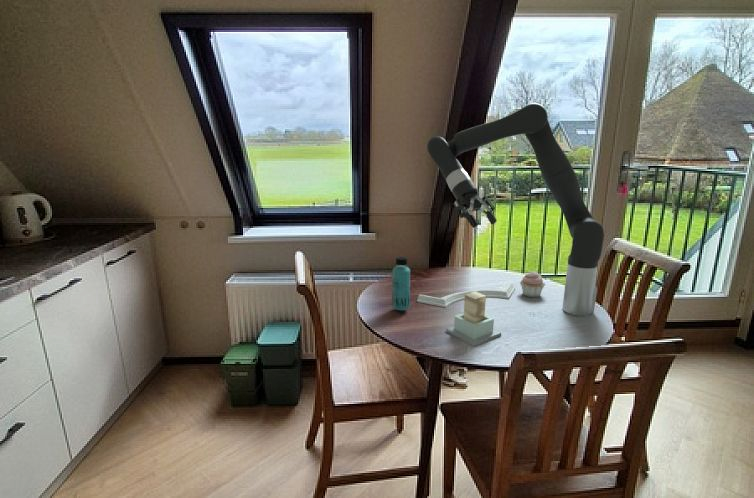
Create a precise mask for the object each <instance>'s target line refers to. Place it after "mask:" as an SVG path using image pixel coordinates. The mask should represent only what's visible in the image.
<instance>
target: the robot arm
mask: <svg viewBox="0 0 754 498" xmlns="http://www.w3.org/2000/svg"><path fill="white" fill-rule="evenodd" d="M519 135H525V137H526V138H527V140H528V142H529V144H530V145H531V147H532V149H533V152H534V154H535V158H536V162H537V165H538V169H539V170H540V171H539V172H540V173H541V175H542V178H543V180H544V183H545V184H546V187H547V189H548V190H549V192H550V194H551V196H552V197H553V199H554V200H555V201H556V203H557V205H558V207H560V210H561V212H562V214H563V216H564V220H565V222H566V226H567V229H568V232H569V235H570V237H571V239H572V242H571V250H570V253H569V255H568V257H567V264H566V274H565V275H566V276H565V283H564V291H563V300H562V306H561V307H562V311H564V312H565V313H567V314H569V315H573V316H578V317H579V316H580V317H585V316H590V315H592V314H594V312H595V308H596V307H595V306H596V300H597V294H598V293H597V292H598V287H597V286H596V280H597V271H598V265H599V261H600V259H601V256H602V252H603V251H602V249H603V245H604V240H605V239H604V238H605V231H604V227H603V226H602V224H601V223H599V222H598V221H597V220H596V219H595V218H594V217H593V216H592V214H591V212H590V211H589V209H588V207H587V206H586V203H585V201H584V199H583V195H582V191H581V187H580V186H581V185H580V183H579V179H578V177H577V174H576V172H575V170H574V167H573V165H572V164H571V162H570V160H569V158H568V157H567V156H568V155H566V153H565V151H564V150H563V148H562V147H561V145H560V144H559V143H558V141H557V140H556V137H555V136H554V133H553V130H552V128H551V125H550V123H549V119H548V111H547V109H546V108H545V107H544V106H543V105H542V104H540V103H537V102H536V103H535V102H533V103H528V104H525V105H523V107H522V108H521V109H518V110H517V111H515V112H514V111H513V113H510V114H509V115H507V116H505V117H502V118H500V119H495V120H493V121H490V122H486V123H483V124H480V125H475V126H473V127H470V128H466V129H464V130H461V131H459V132H456V133H455V134H454V135H453V139H451V140H450V141H446V139H445V138H443V137H442V136H439V135H437V136H436V135H435V136H433V137H431V138H430V139H429V140H428V142H427V145H426V148H427V152H428V154H429V156H430V157H431V158H432V160H433V161H434V163H435V164H436V166H437V167H438V168H439V171H440V172H441V175H442V176H443V177H444V180H445V181H446V184H447V185H448V186H447V187H448V188H449V189H450V192H451V193H452V195H453V196H454V198H455V199H456V200H455V201H454V202H453V207H454V208H455V209H454V210H456V212H457V215H458V216H459V217H460V219H463V218H464V219H465V220H467V221H468V224H469V225H470V226H471V227H472V228H473V229H475V228H477V227H478V226H479V222H478V221H477V219H476V217H475V216H474V214H473V212H479V213H483V214H484V215H485V216H486V218H487V220H488V221H489V223H490V224H491V225H495V224H496V223H497V217H496V216H495V214H494V211H495V209H496V208H495V206H494V205H493V202H492V201H491V200H490V199H489V197H488V195H483V196H480V195H479V193H478V192H479V191H478V188H477V187H476V185H475V183H474V181H473V180H472V178H471V177H470V175H469V174H468V172H467V171H466V170H465V169H464V167H463V166H462V164H461V163H460V161H459V160H458V159H457V158H456V157H458V156H460V155H461V154H463V153H465V152H468V151H472V150H474V149H475V150H476V149H477V148H480V147H483V146H486V145H489V144H491V143H493V142H496V141H499V140H502V139H505V138H508V137H509V138H510V137H513V136H519Z"/></svg>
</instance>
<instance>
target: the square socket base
mask: <svg viewBox="0 0 754 498" xmlns="http://www.w3.org/2000/svg"><path fill="white" fill-rule="evenodd" d="M494 322H495V318H492V317H490V316H489V315H486V314H485V319H484V321H481V322H478V323H476V324H474V323H472V322H469V321H467V320H465V319H464V312H463V313H459V314H457V315H454V321H453V324H454V325H452V326H449V327H446V328H445V331H446V332H447V333H449V334H450V335H452V336H454V337H456V338H458V339H460V340H461V341H464V343H467V344H469V345H470V346H472V347H477V346H479V345H481V344H483V343H486V342H489V341H491V340H494V339H496V338H499V337H501V336H502V332H501V331H499V330H496V329H494V326H495V325H494Z"/></svg>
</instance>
